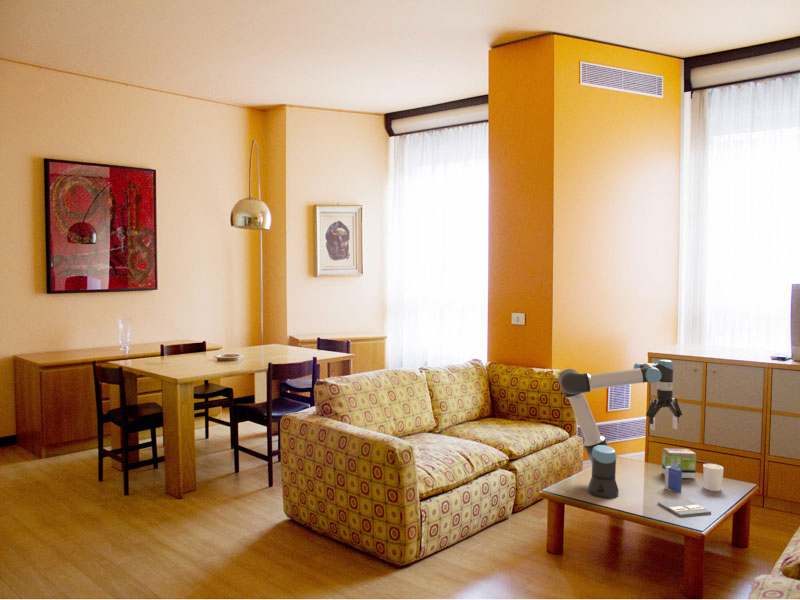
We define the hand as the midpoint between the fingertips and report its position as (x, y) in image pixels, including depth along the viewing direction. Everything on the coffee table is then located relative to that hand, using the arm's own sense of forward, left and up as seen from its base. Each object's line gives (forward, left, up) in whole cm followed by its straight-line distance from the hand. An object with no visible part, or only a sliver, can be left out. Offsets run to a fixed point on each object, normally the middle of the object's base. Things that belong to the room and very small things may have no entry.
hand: (663, 429), depth 321 cm
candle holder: (+27, -6, -32) cm, 42 cm away
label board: (-9, -28, -32) cm, 43 cm away
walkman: (+4, -3, -32) cm, 32 cm away
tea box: (+23, +16, -32) cm, 43 cm away
